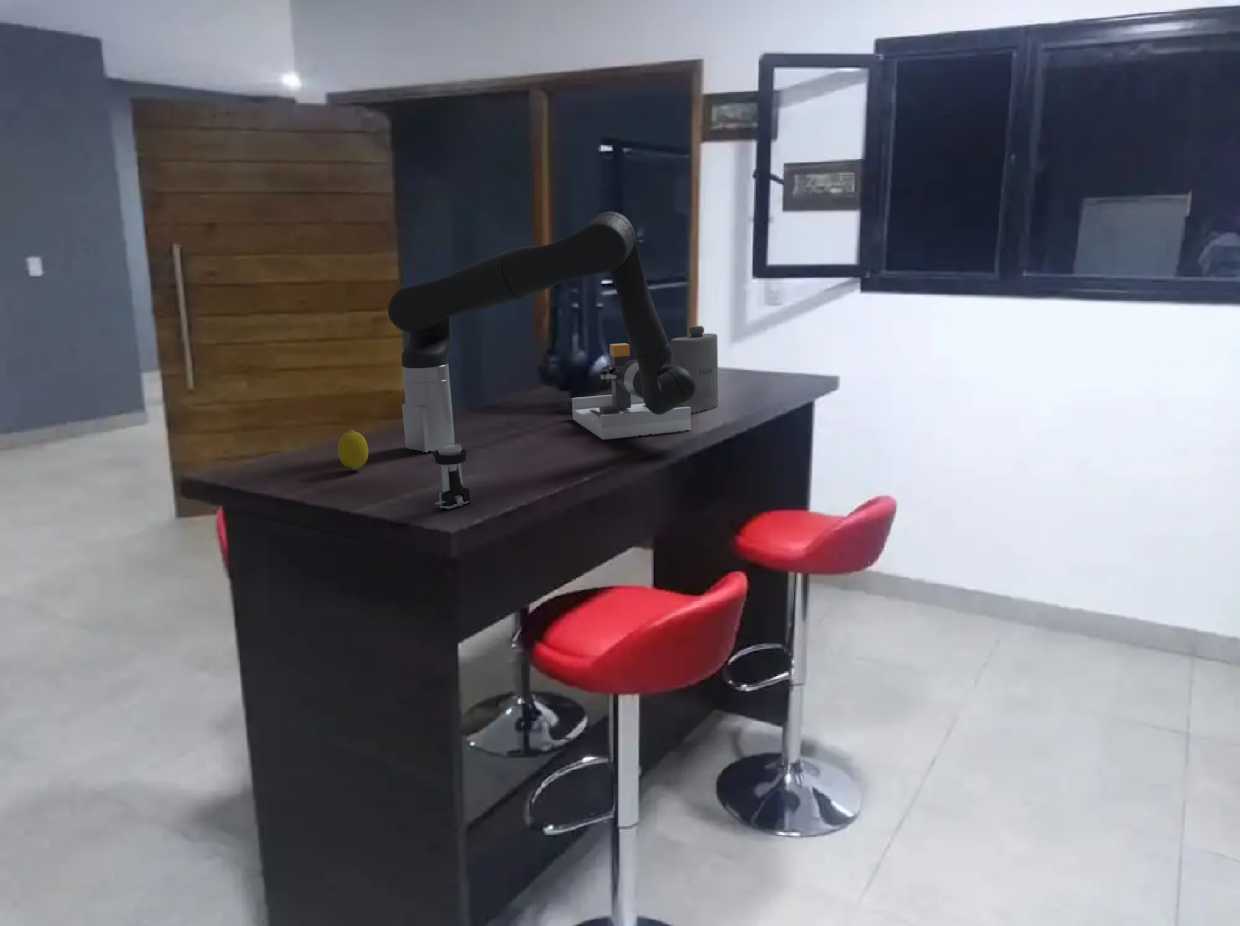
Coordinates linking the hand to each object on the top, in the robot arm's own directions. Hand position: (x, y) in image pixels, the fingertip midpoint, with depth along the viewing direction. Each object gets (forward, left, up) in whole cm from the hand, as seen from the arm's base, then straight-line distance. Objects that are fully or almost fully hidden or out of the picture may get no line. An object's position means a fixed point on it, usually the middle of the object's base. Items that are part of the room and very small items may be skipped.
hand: (616, 369), depth 209 cm
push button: (-71, -20, -12) cm, 74 cm away
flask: (+17, -11, -12) cm, 24 cm away
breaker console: (-5, -7, -12) cm, 14 cm away
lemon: (-64, +14, -12) cm, 66 cm away
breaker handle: (-2, -2, -8) cm, 9 cm away
